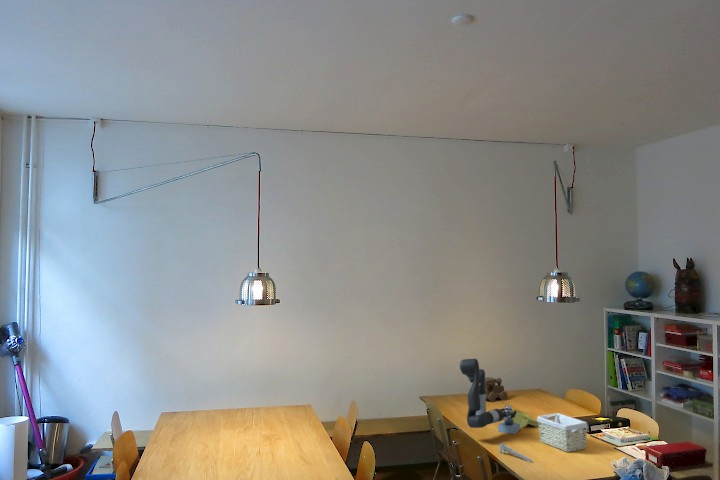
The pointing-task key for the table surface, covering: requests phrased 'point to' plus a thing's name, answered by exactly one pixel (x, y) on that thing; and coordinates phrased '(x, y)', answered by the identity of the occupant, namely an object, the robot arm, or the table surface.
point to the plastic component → (524, 419)
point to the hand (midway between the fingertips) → (510, 411)
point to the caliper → (513, 452)
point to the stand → (509, 428)
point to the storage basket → (562, 432)
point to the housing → (507, 408)
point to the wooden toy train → (494, 389)
